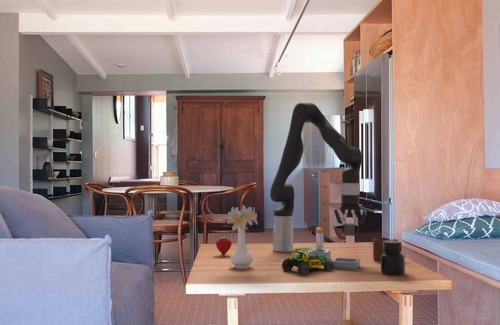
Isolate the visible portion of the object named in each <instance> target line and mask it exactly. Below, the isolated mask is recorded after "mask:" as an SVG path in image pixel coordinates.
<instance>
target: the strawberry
mask: <svg viewBox="0 0 500 325" xmlns="http://www.w3.org/2000/svg"><path fill="white" fill-rule="evenodd" d="M223 236H224V235H222V237H218V239H217V240H216V242H215V246H216V249H217V250H218V252H219V253H220V254H221V255H223V256H225V255H227V253H228V251H229V250H230V249H231V248H232V245H233V244H232V241H231V240H230V239H229V237H225V236H224V237H223Z"/></svg>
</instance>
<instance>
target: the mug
mask: <svg viewBox="0 0 500 325" xmlns="http://www.w3.org/2000/svg"><path fill="white" fill-rule="evenodd" d="M387 240H393V241H399V240H398V239H396V238H392V239H391V238H388V237H374V238H372V258H373V261H374V262H377V263H378V262H379V263H381V255H382V254H383V253H384V252H385V251H383V250H384V249H383V241H387Z"/></svg>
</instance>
